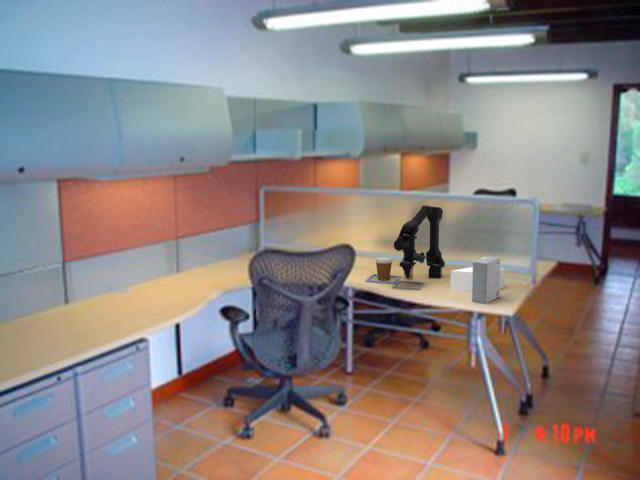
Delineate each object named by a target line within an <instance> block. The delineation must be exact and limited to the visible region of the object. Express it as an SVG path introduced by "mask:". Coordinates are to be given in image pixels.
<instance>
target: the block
mask: <svg viewBox="0 0 640 480" xmlns="http://www.w3.org/2000/svg"><path fill="white" fill-rule="evenodd" d="M403 275H404V276H403V281H413V279H414V266H413V267H412V268H411V270H410V276H409V278H407V277H406V275H405V272H404V271H403Z"/></svg>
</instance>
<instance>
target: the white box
mask: <svg viewBox="0 0 640 480" xmlns="http://www.w3.org/2000/svg"><path fill="white" fill-rule="evenodd" d="M472 272H473V266H470V267H465V268H459V269H453V270H451V271H450V291H456V290H458V291H460V292H470V291H472ZM505 274H506V271H505V268H500V288H501V289H503V288H502V287H504V288H505Z"/></svg>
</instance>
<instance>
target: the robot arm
mask: <svg viewBox="0 0 640 480" xmlns="http://www.w3.org/2000/svg"><path fill="white" fill-rule="evenodd" d="M443 213H444V211H443V209H442V207H440V206H431V205H422V206H421V208H420V210H419V211H418V212H417V213H416V214H415V215H414V217H412V219H411V220H408V221H407V222H405V223H404V224H403V225H402V227H401V229H400V231H399V235H397V236H398V237H397V238H396V239H395V241H394V242H393V248H394V250H396V251H398V252H400V251H402V253H403V257H402V260H401V261H400V262H399V268H402V270H403V273H404V272H405V275H406V277H407V278H409V276H410V270H411V268H412V267H413V268H414V266H415V265H416V264H417V262H419V263H420V264H423V263H425V261H426V265H427V267H428V278H430V279H431V278H433V279H441V278H442V277H443V275H442V274H443V273H442V272H443V271H442V269H443V268H444V267H445V265H446V262H445V261H444V259H443V256H442V252H441V250H440V246H439V245H440V243H439V241H440V238H439V237H440V222H441V220H442V218H443ZM425 219H427V220H428V222H429V249H428V250H427V251H426V253H425V252H423V251H421V252H420V253H419V252H417V250H416V249H415V247H416V246H415V245H416V240H417V239H418V237H417V236H416V235H417V234H418V232H419V229H420V228H419V227H420V226H421V224H422V223H423V222H424V220H425Z"/></svg>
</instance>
